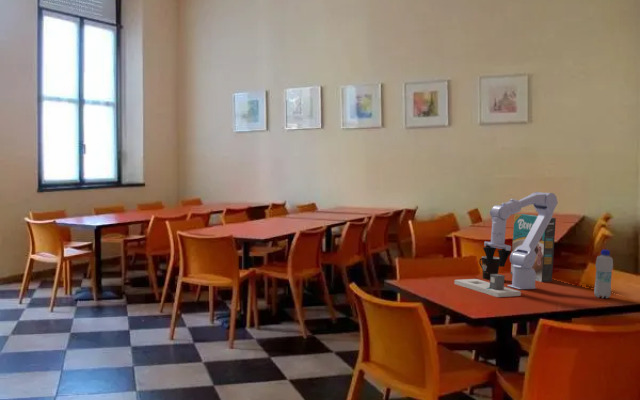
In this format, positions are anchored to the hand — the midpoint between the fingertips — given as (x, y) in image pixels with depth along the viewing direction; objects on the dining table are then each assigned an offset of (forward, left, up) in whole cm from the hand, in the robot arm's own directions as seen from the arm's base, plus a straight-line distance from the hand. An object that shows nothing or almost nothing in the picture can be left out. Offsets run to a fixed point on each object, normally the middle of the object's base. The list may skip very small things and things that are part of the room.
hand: (495, 265), depth 264 cm
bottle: (-36, +25, -11) cm, 45 cm away
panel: (+4, 0, -10) cm, 11 cm away
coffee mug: (-17, -23, -11) cm, 30 cm away
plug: (+5, +7, -11) cm, 13 cm away
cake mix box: (-40, -20, -11) cm, 46 cm away
